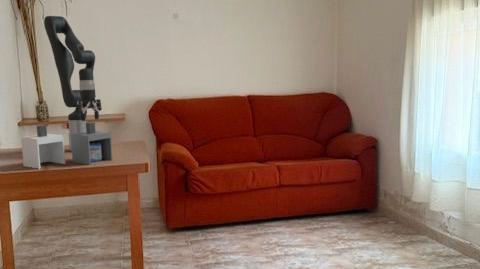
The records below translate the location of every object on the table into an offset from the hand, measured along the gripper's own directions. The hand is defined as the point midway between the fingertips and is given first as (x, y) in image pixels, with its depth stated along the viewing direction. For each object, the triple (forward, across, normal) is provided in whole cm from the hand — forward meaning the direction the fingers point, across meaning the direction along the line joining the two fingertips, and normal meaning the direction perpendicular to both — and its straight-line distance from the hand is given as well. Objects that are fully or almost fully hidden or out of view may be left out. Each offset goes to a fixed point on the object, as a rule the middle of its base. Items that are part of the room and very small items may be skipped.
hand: (90, 119), depth 244 cm
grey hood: (+18, +32, +4) cm, 37 cm away
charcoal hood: (+18, +14, +17) cm, 29 cm away
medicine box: (+19, +14, +17) cm, 29 cm away
